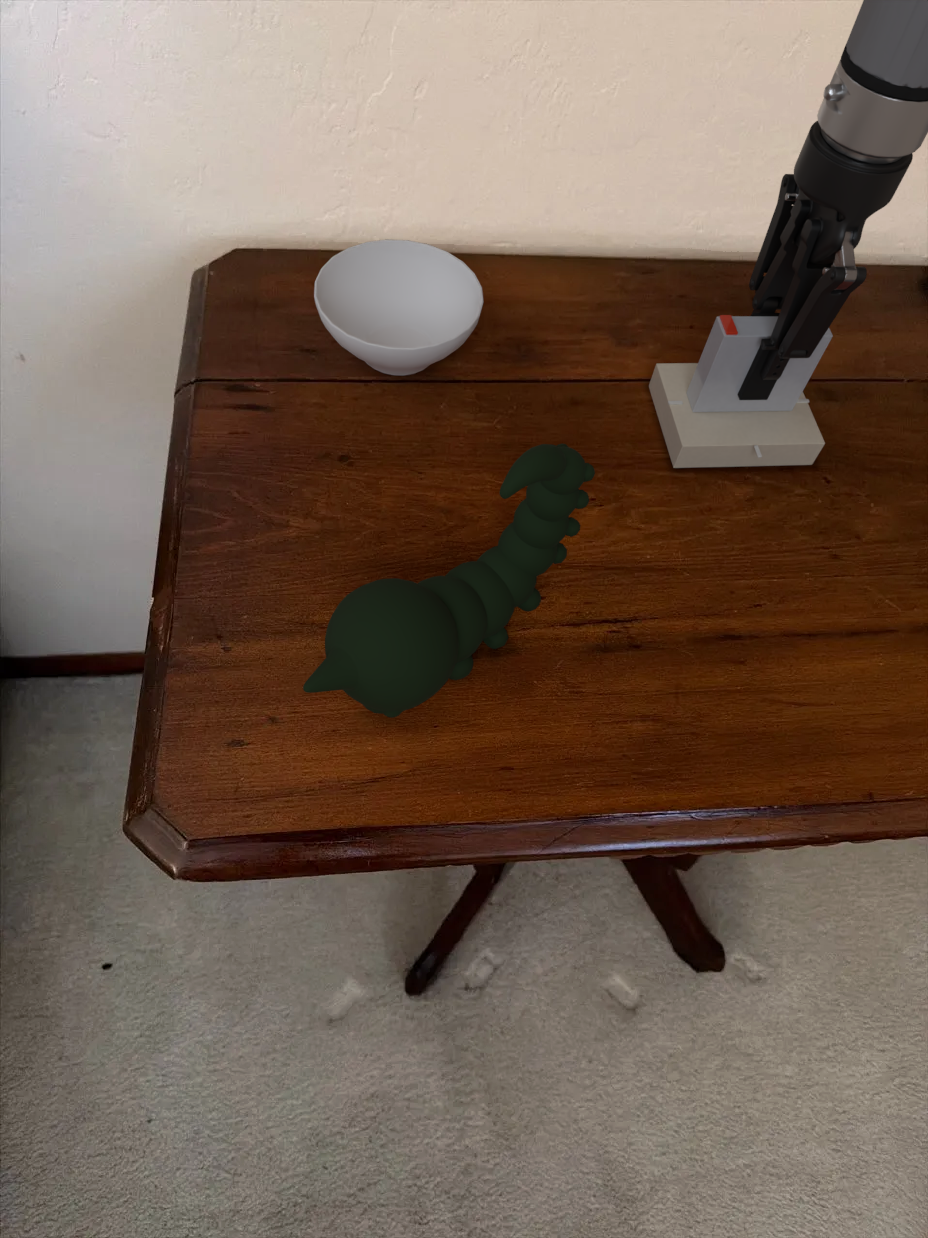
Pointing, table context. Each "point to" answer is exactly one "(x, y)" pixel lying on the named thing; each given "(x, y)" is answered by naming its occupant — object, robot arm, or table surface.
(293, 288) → the table surface
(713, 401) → the leaning grey slab
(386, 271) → the bowl
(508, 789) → the table surface
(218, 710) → the table surface
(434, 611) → the toy figurine
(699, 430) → the base
